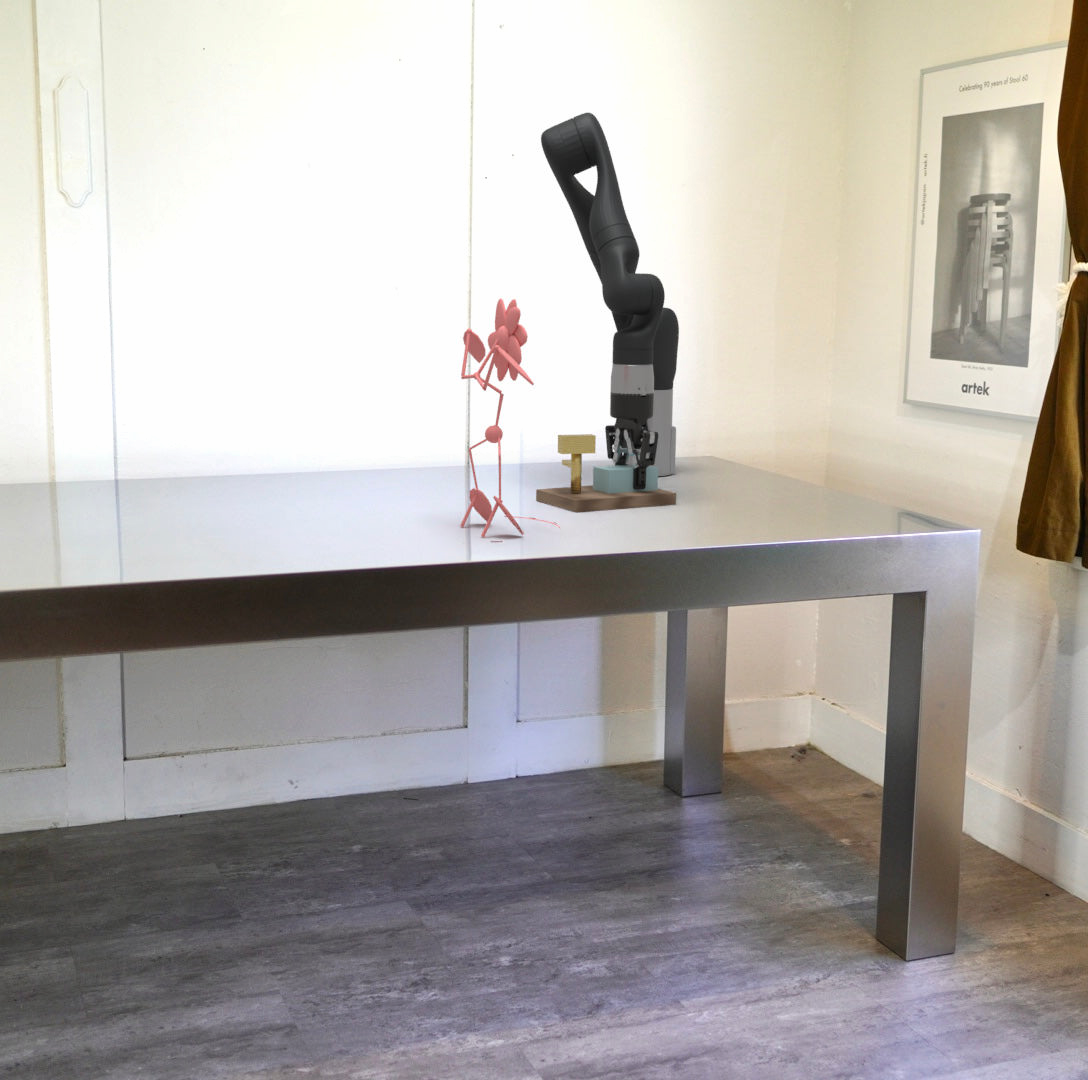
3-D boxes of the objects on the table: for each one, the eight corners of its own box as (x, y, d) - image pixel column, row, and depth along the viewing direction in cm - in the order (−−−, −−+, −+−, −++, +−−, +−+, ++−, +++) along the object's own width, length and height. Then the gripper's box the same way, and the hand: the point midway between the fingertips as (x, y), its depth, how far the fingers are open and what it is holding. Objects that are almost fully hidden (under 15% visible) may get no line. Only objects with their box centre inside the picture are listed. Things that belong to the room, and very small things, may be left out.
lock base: (632, 493, 244) (632, 482, 243) (675, 504, 232) (676, 492, 231) (536, 500, 234) (536, 489, 234) (576, 512, 222) (576, 500, 222)
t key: (549, 487, 234) (550, 432, 233) (582, 486, 236) (583, 431, 234) (561, 493, 228) (561, 436, 226) (594, 492, 229) (595, 435, 227)
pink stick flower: (497, 547, 191) (497, 299, 184) (438, 519, 214) (436, 297, 208) (594, 540, 197) (598, 299, 190) (526, 513, 220) (527, 298, 214)
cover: (640, 486, 239) (641, 463, 238) (657, 490, 234) (658, 467, 234) (592, 489, 234) (593, 466, 234) (608, 493, 230) (609, 470, 229)
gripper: (592, 388, 236) (590, 483, 239) (636, 393, 224) (634, 493, 227) (628, 387, 240) (626, 480, 243) (673, 392, 227) (670, 491, 230)
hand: (630, 486), depth 235 cm, fingers closed on cover, 5 cm apart
